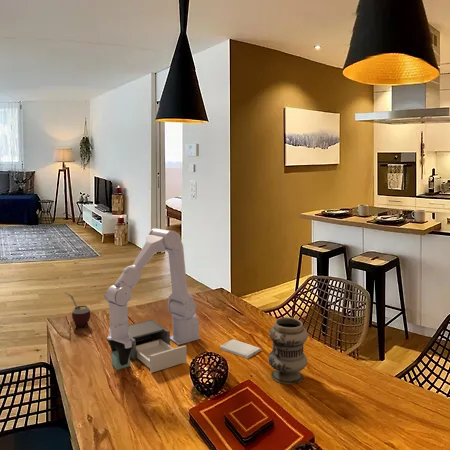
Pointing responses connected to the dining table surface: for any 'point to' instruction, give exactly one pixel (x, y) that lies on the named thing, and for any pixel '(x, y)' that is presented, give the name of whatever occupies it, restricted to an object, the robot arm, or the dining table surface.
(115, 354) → the teal block
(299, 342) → the apothecary jar
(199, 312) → the dining table surface
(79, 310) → the mate gourd
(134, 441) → the dining table surface
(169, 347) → the tray
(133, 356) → the housing
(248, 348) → the hard drive
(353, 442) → the dining table surface
